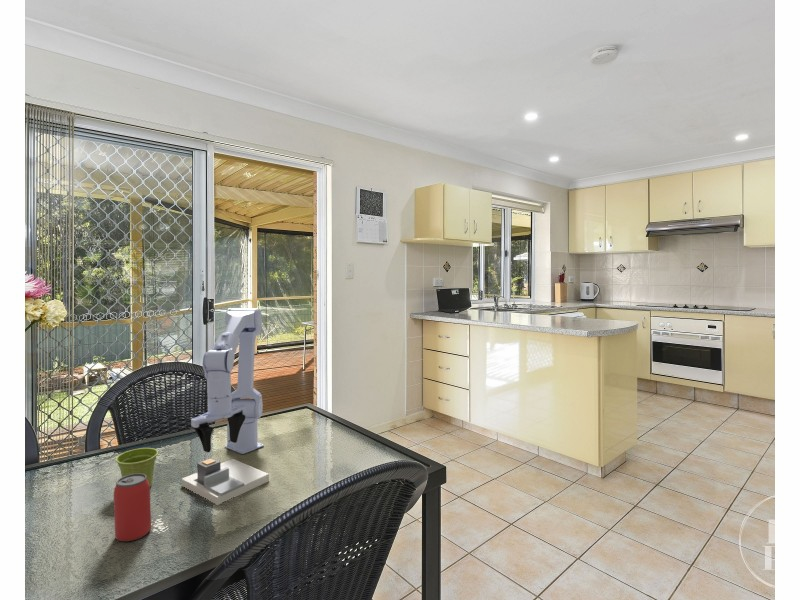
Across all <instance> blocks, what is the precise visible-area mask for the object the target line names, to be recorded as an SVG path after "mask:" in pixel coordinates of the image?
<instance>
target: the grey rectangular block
mask: <svg viewBox="0 0 800 600" xmlns="http://www.w3.org/2000/svg"><path fill="white" fill-rule="evenodd" d="M220 463H221V461H220V460H217V459H215V458H212V457H211V458H208V459H205V460H202V461H199V462H197V463H196V464H197V467H196V468H197V469H196V470H197V472H196V473H197V474H198V483H200V484H202V485H203V486H204V476H206V475H209V474H211V473H214V472H216V471H219V470H221V466H220Z"/></svg>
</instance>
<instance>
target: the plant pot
mask: <svg viewBox="0 0 800 600" xmlns="http://www.w3.org/2000/svg"><path fill="white" fill-rule="evenodd" d="M158 455H159V451H158V449H156V448H154V447H152V448H151V447H141V448H135V449H134V448H133V449H131V450H126V451H124V452H122V453H121V454H119V455H117V456H116V458H115V462H116V463H117V466H118V468H119V470H120V471H119V472H120V474H121V478H122V477H124V476H127V475H130V474H137V473H140V474H145V475H146V476H147V480H148V482H149V485H150V488H151V487H152V484H153V479H154V470H155V463H156V462H155V461H156V460H157V456H158Z"/></svg>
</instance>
